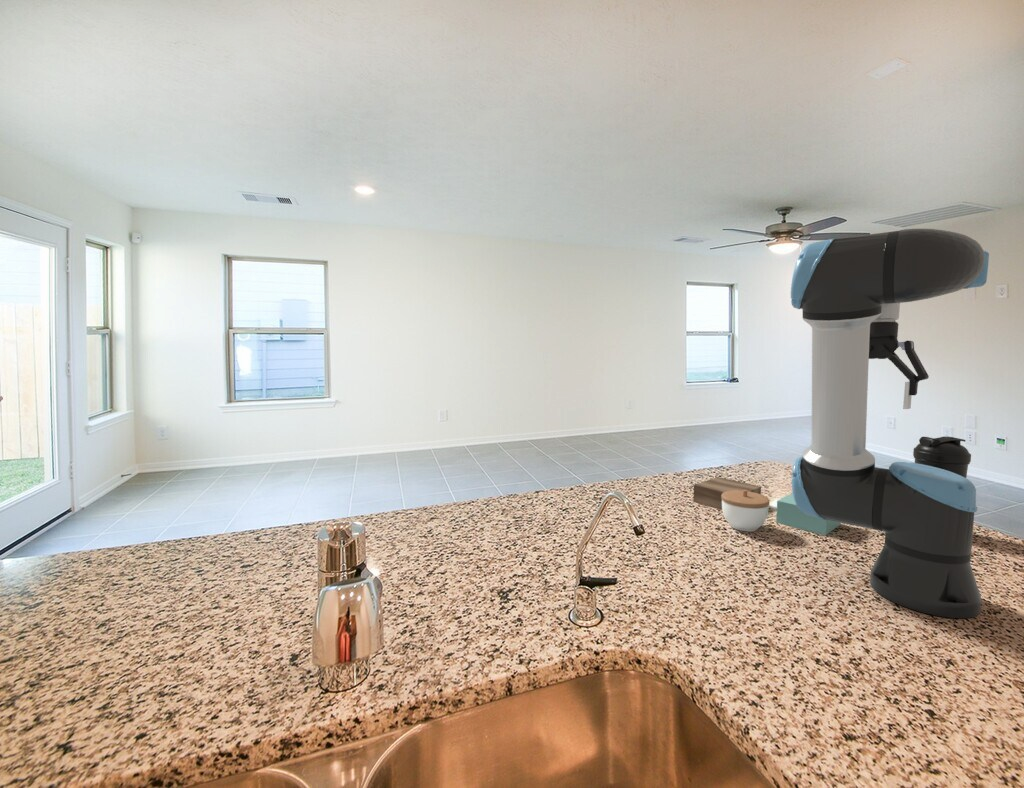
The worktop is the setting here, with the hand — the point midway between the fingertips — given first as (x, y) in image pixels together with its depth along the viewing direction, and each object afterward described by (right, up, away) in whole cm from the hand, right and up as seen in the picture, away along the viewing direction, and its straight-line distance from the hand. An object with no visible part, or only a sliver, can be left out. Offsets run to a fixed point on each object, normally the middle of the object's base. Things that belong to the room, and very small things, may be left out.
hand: (873, 406), depth 120 cm
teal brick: (-16, -30, 0) cm, 34 cm away
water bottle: (+11, -30, -5) cm, 33 cm away
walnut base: (-30, -28, +16) cm, 44 cm away
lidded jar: (-34, -30, -2) cm, 45 cm away
